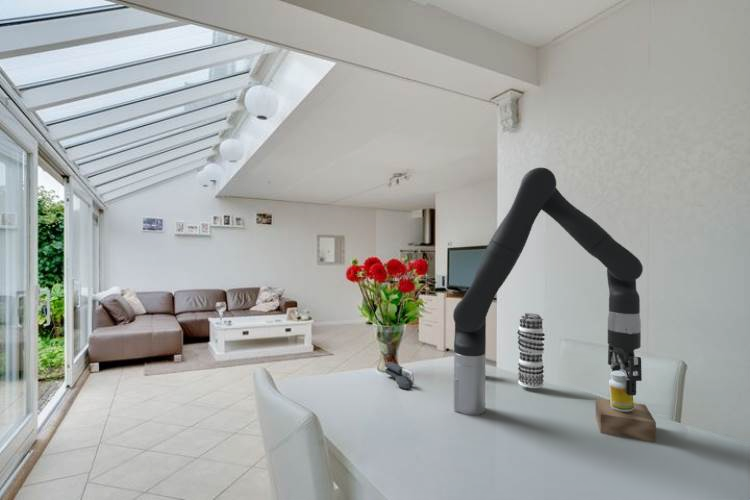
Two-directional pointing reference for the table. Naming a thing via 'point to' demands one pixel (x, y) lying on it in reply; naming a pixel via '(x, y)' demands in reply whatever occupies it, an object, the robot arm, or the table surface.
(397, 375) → the can opener
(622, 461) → the table surface
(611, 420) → the brown wooden block
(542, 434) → the table surface
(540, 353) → the decorative candle
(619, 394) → the supplement bottle
